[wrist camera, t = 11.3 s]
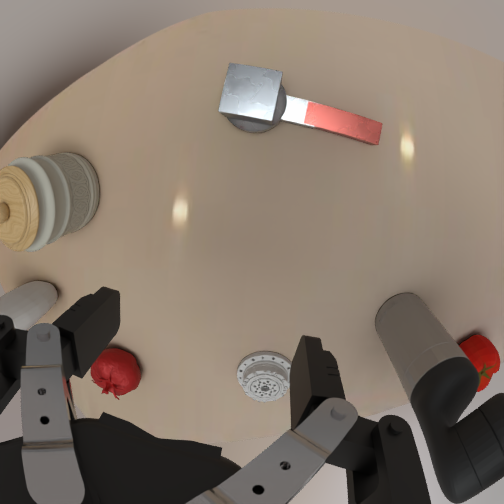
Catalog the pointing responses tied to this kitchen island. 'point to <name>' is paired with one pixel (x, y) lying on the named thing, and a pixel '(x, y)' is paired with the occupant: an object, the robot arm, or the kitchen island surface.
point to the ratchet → (317, 120)
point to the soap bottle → (28, 303)
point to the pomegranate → (116, 372)
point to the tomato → (482, 358)
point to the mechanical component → (264, 375)
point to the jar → (45, 199)
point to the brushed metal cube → (250, 94)
